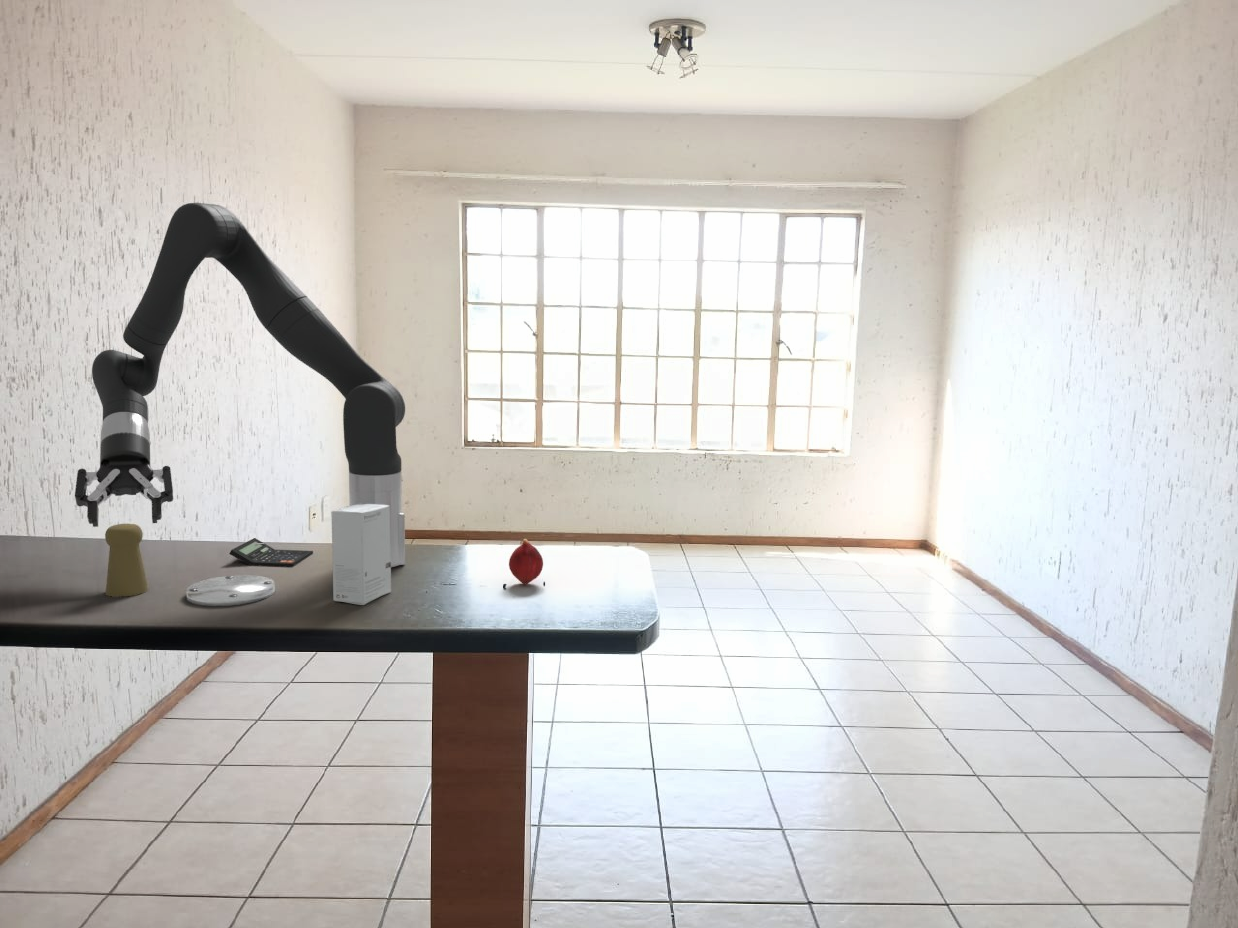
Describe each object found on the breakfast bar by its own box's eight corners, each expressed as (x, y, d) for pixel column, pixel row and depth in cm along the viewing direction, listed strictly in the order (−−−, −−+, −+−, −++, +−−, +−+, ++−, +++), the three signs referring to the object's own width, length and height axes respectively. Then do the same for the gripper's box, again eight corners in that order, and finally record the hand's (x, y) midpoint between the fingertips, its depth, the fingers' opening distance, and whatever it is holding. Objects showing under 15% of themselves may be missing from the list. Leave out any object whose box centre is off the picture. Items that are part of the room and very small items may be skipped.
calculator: (293, 568, 157) (292, 552, 156) (229, 565, 157) (229, 549, 157) (313, 555, 166) (312, 539, 166) (253, 552, 166) (252, 537, 166)
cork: (129, 598, 136) (125, 530, 135) (96, 595, 137) (92, 527, 136) (157, 587, 142) (153, 522, 140) (125, 584, 143) (121, 519, 142)
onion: (548, 582, 152) (549, 538, 151) (531, 591, 147) (532, 544, 145) (520, 577, 154) (520, 533, 153) (502, 585, 149) (502, 540, 148)
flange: (270, 578, 149) (270, 571, 149) (278, 600, 138) (278, 592, 137) (186, 586, 143) (185, 579, 143) (187, 610, 132) (186, 601, 131)
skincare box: (363, 606, 136) (362, 513, 134) (330, 601, 138) (328, 509, 136) (393, 591, 144) (392, 503, 142) (361, 587, 146) (360, 500, 143)
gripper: (74, 432, 145) (71, 512, 137) (170, 430, 152) (173, 507, 143) (80, 458, 151) (77, 538, 142) (172, 455, 157) (174, 531, 149)
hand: (125, 522), depth 143 cm, fingers open, 8 cm apart
